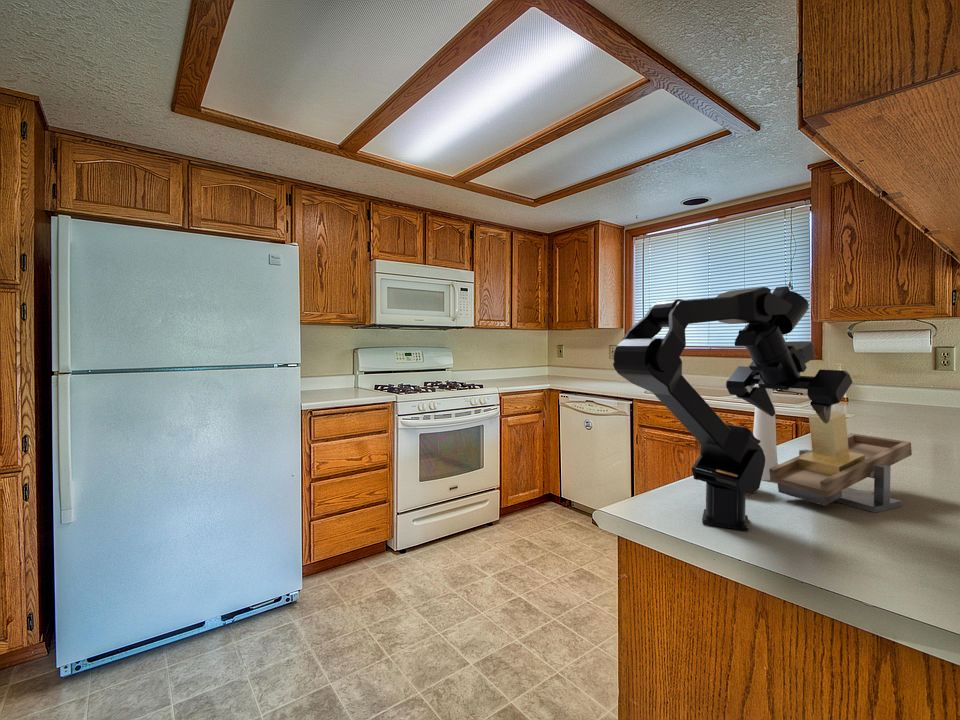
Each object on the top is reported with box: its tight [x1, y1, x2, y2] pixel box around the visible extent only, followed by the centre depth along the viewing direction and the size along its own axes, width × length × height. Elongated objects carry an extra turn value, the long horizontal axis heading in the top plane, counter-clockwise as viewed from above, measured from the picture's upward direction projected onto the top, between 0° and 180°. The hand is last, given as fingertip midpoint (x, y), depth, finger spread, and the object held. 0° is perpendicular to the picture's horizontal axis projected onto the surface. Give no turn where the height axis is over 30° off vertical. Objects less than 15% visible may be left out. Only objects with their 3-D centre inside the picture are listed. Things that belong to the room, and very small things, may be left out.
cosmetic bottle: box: [752, 388, 779, 482], centre depth 101 cm, size 6×6×22 cm
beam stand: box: [798, 449, 902, 514], centre depth 88 cm, size 8×15×8 cm, turn 23°
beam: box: [769, 433, 913, 506], centre depth 88 cm, size 26×11×4 cm, turn 113°
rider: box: [798, 411, 865, 476], centre depth 86 cm, size 8×7×10 cm
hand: (799, 418), depth 85 cm, fingers open, 9 cm apart
